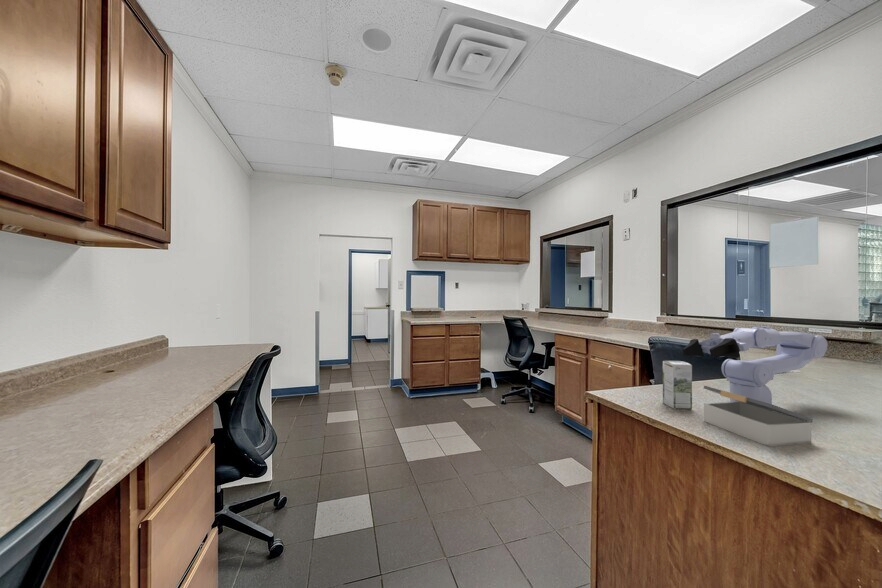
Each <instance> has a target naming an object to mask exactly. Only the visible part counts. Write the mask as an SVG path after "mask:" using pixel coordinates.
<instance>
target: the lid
mask: <svg viewBox="0 0 882 588" xmlns="http://www.w3.org/2000/svg"><path fill="white" fill-rule="evenodd" d="M703 389H705V390H706V391H710V392H713V393H715V394H719V395H720V396H721V397H725V398H727V399H730V398H731V399H734V400H737V401H740V402H744V403H747V404H750V405H754V406H757V407H761V408H764V409H767V410H771V411H774V412H777V413H780V414H784V415H787V416H791V417H794V418H797V419H801V420H804V421H808V422H811V423H813V419H812V418H811V417H808V416H805V415H803V414H800V413H796V412H793V411H792V410H789V409H786V408H783V407H780V406H777V405H776V404H773V403H772V404H769V403H765V402H762V401H758V400H755V399H751V398H747V397H744V396H741V395H737V394H733V393H730V391H727V390H722V389H718V388H714V387H710V386H706V385H703Z"/></svg>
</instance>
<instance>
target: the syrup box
mask: <svg viewBox="0 0 882 588" xmlns="http://www.w3.org/2000/svg"><path fill="white" fill-rule="evenodd" d="M662 403H663V404H664V405H666V406H667V407H670V408H672V409H674V408H679V409H681V410H693V365H692V364H691V363H689V362H686V361H681V360H662ZM679 409H678V410H679Z"/></svg>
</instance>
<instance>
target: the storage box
mask: <svg viewBox="0 0 882 588" xmlns="http://www.w3.org/2000/svg"><path fill="white" fill-rule="evenodd" d="M703 421H704V422H705V423H708V424H711V425H713V426H715V427H718V428H721V429H723V430H726V431H729V432H731V433H734V434H736V435H739V436H741V437H744V438H747V439H749V440H752V441H754V442H756V443H759V444H762V445H763V446H766V447H768V448H772V447H784V446H785V447H787V446H795V445H806V444H808V445H809V444H812V422H808V421H805V420H801V419H798V418H795V417H791V416H788V415H784V414H781V413H778V412H774V411H770V410H767V409H763V408H760V407H757V406H753V405H750V404H746V403H743V402H740V401H737V402H730V401H724V402H710V403H709V402H706V403H703Z"/></svg>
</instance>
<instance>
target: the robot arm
mask: <svg viewBox="0 0 882 588" xmlns="http://www.w3.org/2000/svg"><path fill="white" fill-rule="evenodd" d="M775 346H776V349H775V350H776V351H775V354H776V355H773V356H767V357H763V358H757V359H753V360H745V359H744V360H743V359H742V360H741V359H740V360H739V359H738V358H740V352H747V351H750V349H751V348H758V349H759V348H761V349H765V348H766V347H775ZM827 349H828V341H827V339H826V338H825V337H824V336H823V335H821V334H817V335H816V334H814V333H813V334H812V333H806V332H800V331H799V332H798V331H787V330H786V331H778V330H776V329H774V328H771V326H765V325H764V326H761V327H759V326H752V327H751V328H748V327H735V328H734V329H733V331H732V332H728V333H725V334H722V335H720V333H719V332H718V333H717V332H713V333H710V337H709V338H707V339H704V340H702V341H699V339H698V338H693V339H690V340H689V343H688V344H687V345H686V346H685V347H684V348H682V353H683V356H685V357H693V356H694V357H696V358H704V357H705V355H704V353H705V354H706V353H707V354H709V355H710V356H711V357H712V358H713V357H714V358H724V357H726V358H727V359H725V360H724V361H723V362H722V364H721V373H722V375H723V376H724V377H725V378H726V381H727V382H729V392H730V393H733V394H737V395H741V396H744V397H747V398H751V399H755V400H758V401H762V402H765V403H769V404H772V405H773V401H772V400H773V399H772V398H773V397H772V396H773V394H772V390H771V389H770V388H769V387H768V386H767V384H768V383H769V382H771V381H773V380H774V377H775V375H778V374H782V373H786V372H791V371H795V370H801V369H802V368H803V367H805V366H807V364H809V363H810V362H812V361H813V360H814V359H819V358H823V357H824V356H825V354H826V352H827ZM736 359H737V360H736ZM729 402H737V400H734V399H731V398H729ZM743 403H744V402H743ZM746 404H747V403H746ZM753 406H754V405H753ZM760 408H761V407H760ZM763 409H764V408H763ZM770 411H771V410H770Z"/></svg>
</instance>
